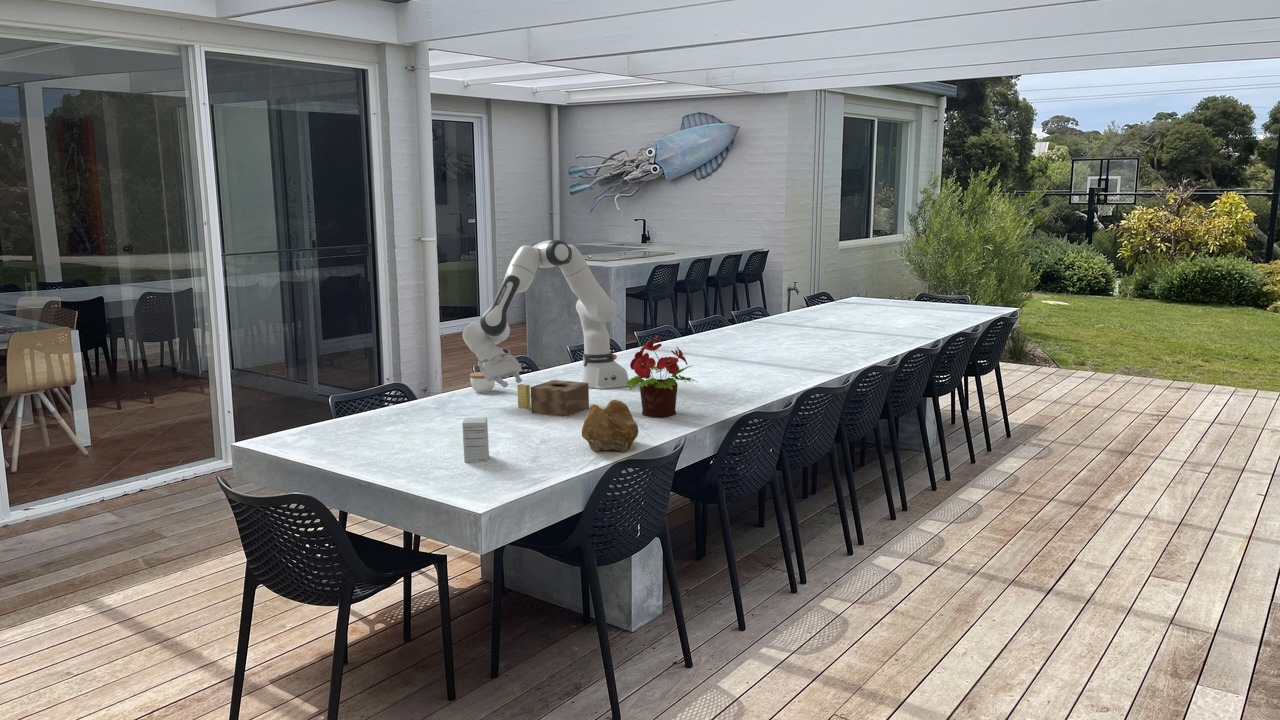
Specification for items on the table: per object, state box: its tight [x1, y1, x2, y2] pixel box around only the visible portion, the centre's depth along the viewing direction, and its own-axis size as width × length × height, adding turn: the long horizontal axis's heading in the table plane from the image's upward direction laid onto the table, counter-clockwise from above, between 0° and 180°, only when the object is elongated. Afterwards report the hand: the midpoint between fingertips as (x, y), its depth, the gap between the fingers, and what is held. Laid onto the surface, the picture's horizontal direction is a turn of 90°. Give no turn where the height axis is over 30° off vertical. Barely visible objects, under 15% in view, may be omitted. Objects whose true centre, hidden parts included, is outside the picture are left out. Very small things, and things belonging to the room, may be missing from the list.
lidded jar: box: [469, 371, 496, 394], centre depth 404 cm, size 11×11×9 cm
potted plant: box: [626, 335, 700, 419], centre depth 352 cm, size 30×27×30 cm
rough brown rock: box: [581, 399, 639, 453], centre depth 308 cm, size 23×17×15 cm
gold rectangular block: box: [516, 383, 531, 410], centre depth 371 cm, size 4×2×9 cm, turn 63°
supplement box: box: [462, 416, 490, 463], centre depth 298 cm, size 7×7×13 cm
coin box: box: [530, 379, 590, 418], centre depth 364 cm, size 16×16×10 cm
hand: (513, 384), depth 372 cm, fingers open, 8 cm apart
